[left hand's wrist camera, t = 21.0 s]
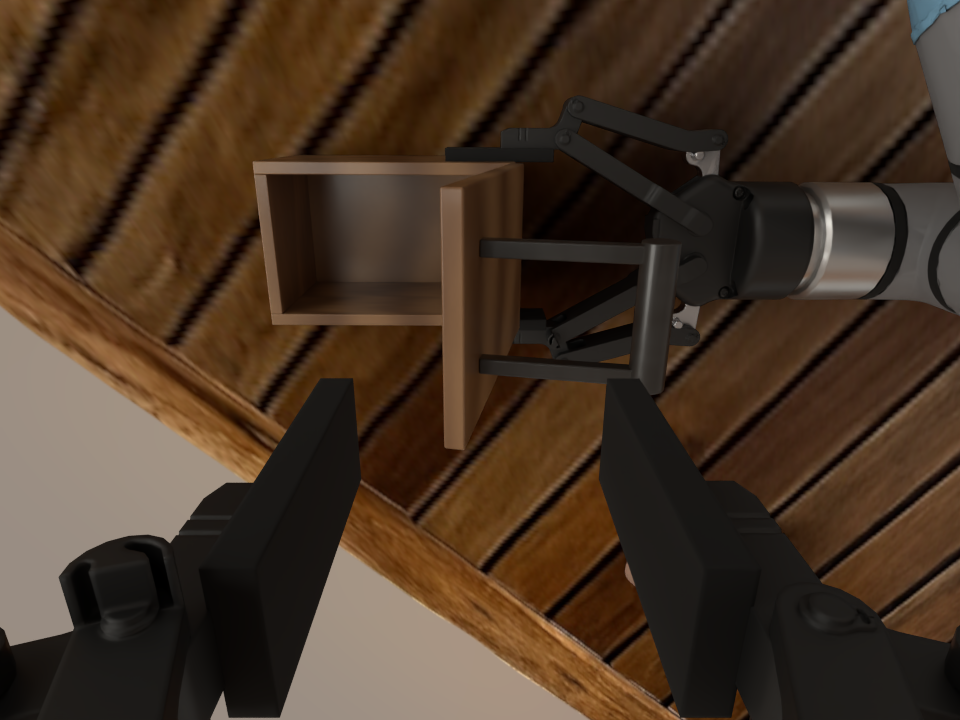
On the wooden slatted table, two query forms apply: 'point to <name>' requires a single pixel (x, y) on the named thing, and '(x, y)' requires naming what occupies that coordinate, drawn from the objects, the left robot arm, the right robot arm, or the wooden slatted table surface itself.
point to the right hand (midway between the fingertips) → (447, 240)
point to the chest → (355, 236)
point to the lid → (496, 297)
